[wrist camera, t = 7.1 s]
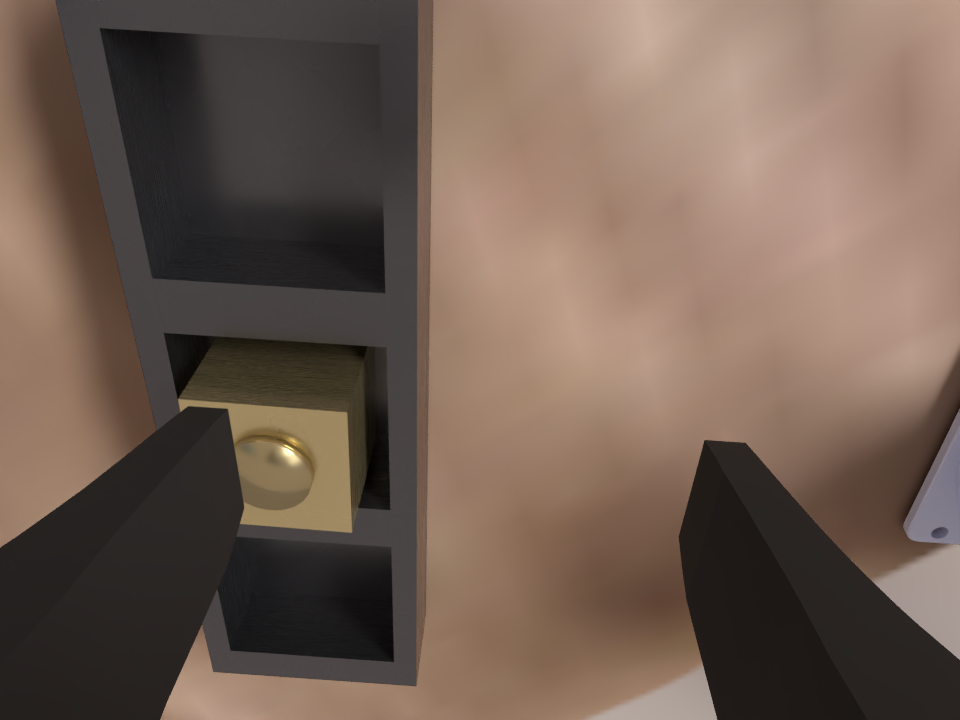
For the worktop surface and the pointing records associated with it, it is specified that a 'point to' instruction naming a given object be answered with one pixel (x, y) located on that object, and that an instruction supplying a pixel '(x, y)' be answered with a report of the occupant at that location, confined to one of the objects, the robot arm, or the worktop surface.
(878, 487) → the worktop surface
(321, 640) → the cabinet frame
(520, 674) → the worktop surface
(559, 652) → the worktop surface
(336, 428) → the wooden knob block
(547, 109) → the worktop surface
